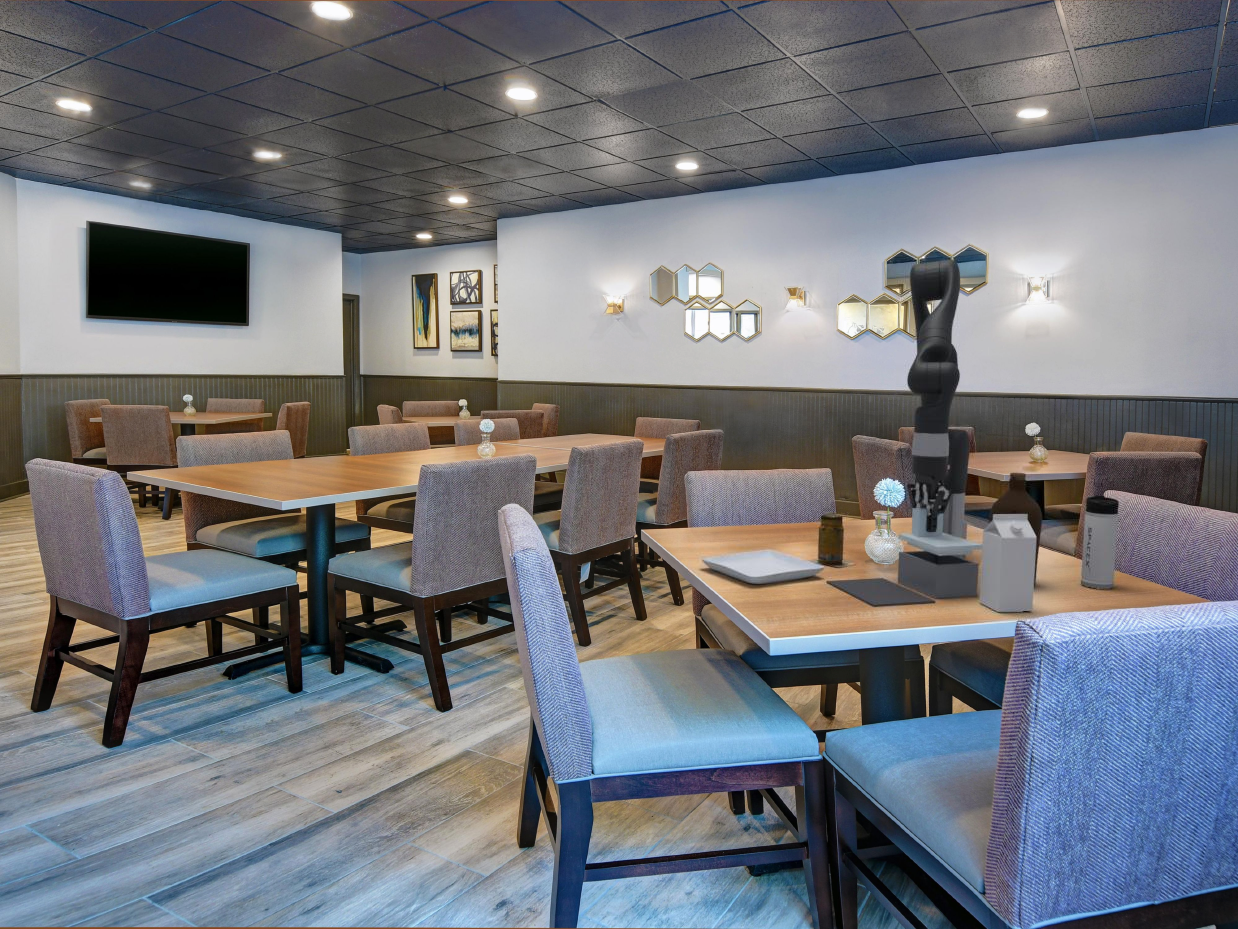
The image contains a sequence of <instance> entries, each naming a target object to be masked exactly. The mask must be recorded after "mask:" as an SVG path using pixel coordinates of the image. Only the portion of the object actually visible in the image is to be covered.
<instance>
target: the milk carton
mask: <svg viewBox="0 0 1238 929" xmlns="http://www.w3.org/2000/svg"><path fill="white" fill-rule="evenodd" d="M1027 517H1028V514H993V520H992V521H991V522H990V521H989V523H988V524H987V526H986V527H985V528H984V529H983V531H982V543H981V544H982V549H981V560H980V561H981V562H980V564H981V567H980V581H979V582H980V585H979V598H978V599H979V604H982V605H984V606H986V607H987V608H989V609H991V610H992V611H995V612H997V613H1023V611H1032V612H1033V605H1034V604H1033V601H1034V589H1035V588H1034V587H1035V586H1034V573H1035V556H1036V538H1037V537H1036V535H1035V533H1034V531H1033V529H1032V527H1031V525H1030V524H1029V522H1028V520H1027Z"/></svg>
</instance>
